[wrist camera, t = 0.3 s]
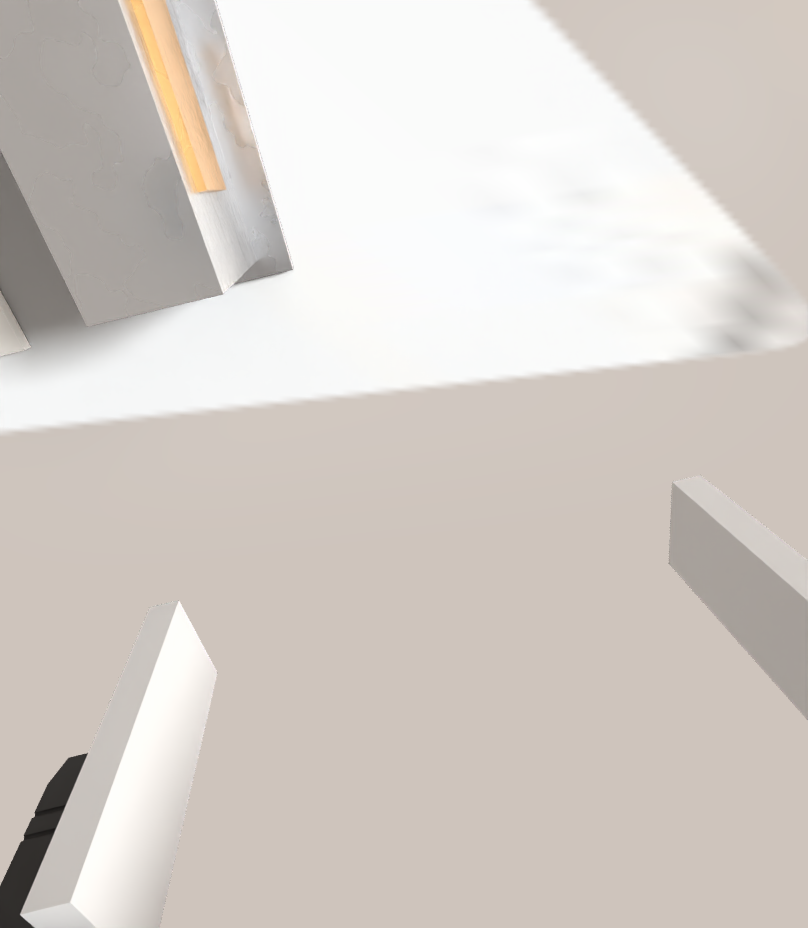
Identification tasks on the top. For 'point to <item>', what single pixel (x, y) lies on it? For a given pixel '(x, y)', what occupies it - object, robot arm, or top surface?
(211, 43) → the block
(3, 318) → the mat
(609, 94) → the top surface
